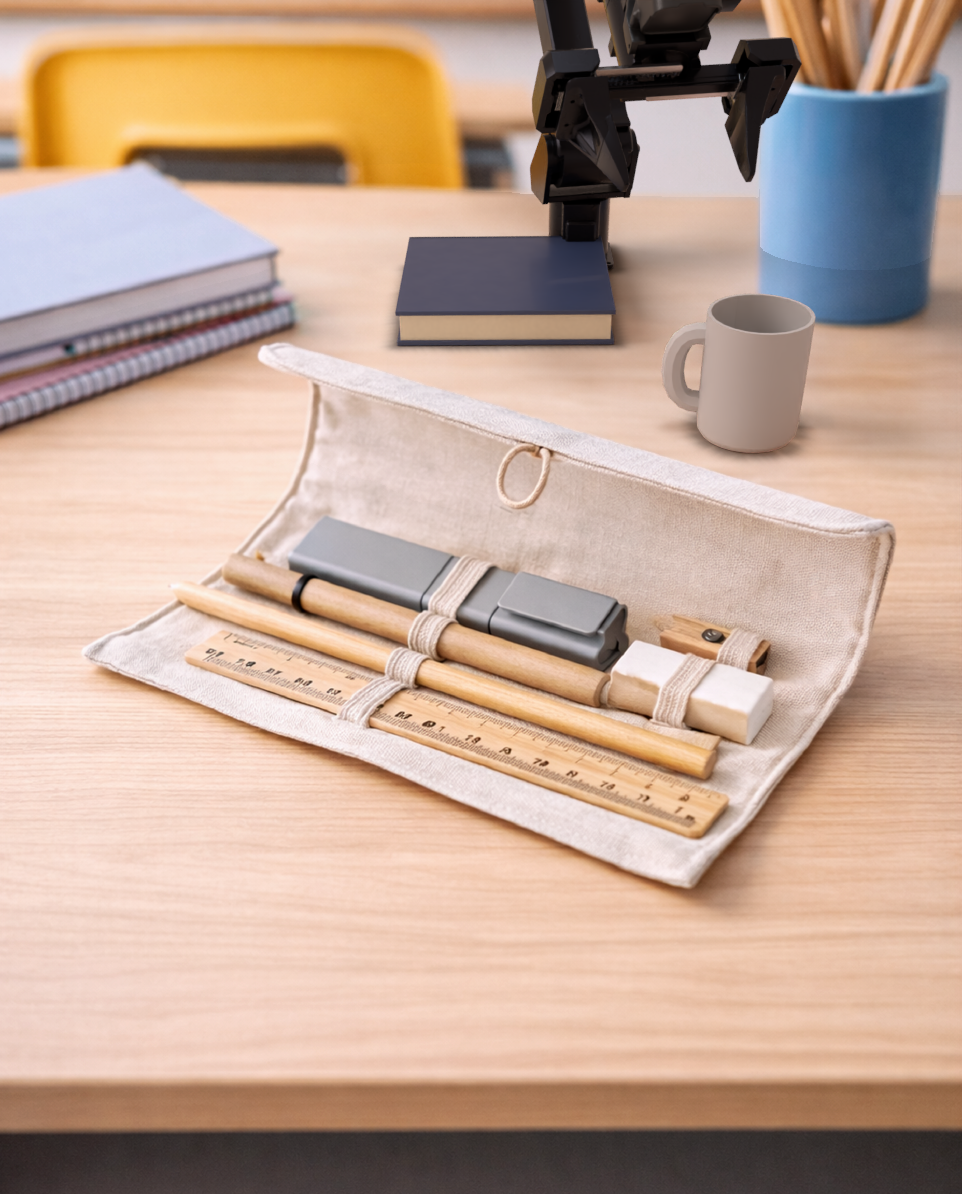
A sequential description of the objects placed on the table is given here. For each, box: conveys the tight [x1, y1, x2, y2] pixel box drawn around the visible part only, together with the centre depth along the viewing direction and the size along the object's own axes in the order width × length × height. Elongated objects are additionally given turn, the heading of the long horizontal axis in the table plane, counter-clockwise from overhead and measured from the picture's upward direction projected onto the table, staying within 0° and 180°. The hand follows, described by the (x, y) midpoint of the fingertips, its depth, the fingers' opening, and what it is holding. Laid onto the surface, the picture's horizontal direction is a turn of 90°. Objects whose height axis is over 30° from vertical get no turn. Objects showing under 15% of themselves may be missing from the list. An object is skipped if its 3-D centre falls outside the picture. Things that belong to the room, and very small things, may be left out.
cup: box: [660, 292, 817, 454], centre depth 84 cm, size 7×10×9 cm
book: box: [394, 235, 617, 347], centre depth 105 cm, size 18×18×3 cm
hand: (688, 183), depth 84 cm, fingers open, 9 cm apart
